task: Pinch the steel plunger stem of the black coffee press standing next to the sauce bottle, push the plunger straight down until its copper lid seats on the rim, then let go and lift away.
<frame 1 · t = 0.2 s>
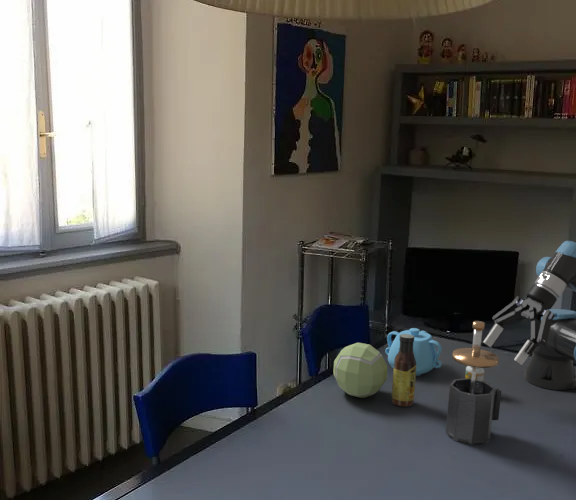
hand: (501, 353, 176), 16 cm above the table, tool tilted 35°, fingers open, 13 cm apart
decorative sphere: (358, 395, 185), on the table
decorative pot: (411, 369, 206), on the table
supplement bottle: (473, 391, 190), on the table
sauce bottle: (402, 403, 180), on the table
press body: (467, 434, 163), on the table
plunger: (474, 363, 159), point 19 cm above the table, slide at 7.0 cm
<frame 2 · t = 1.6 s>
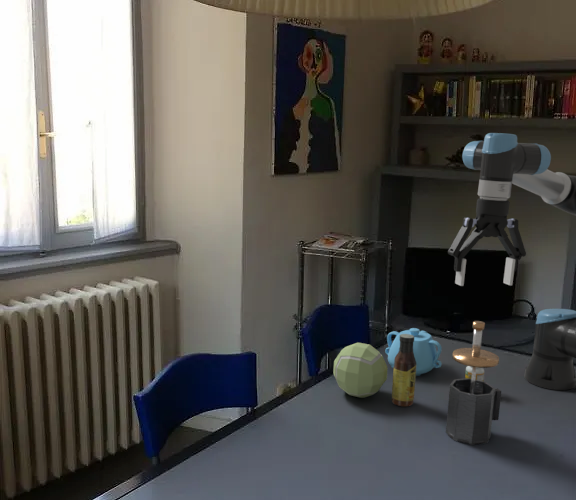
hand: (483, 284, 156), 39 cm above the table, tool pointing down, fingers open, 13 cm apart
nothing on the table moved.
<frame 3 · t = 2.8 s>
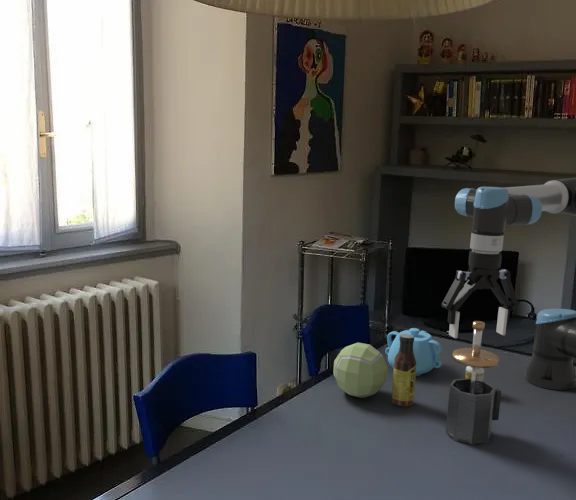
hand: (477, 335, 158), 27 cm above the table, tool pointing down, fingers open, 13 cm apart
nothing on the table moved.
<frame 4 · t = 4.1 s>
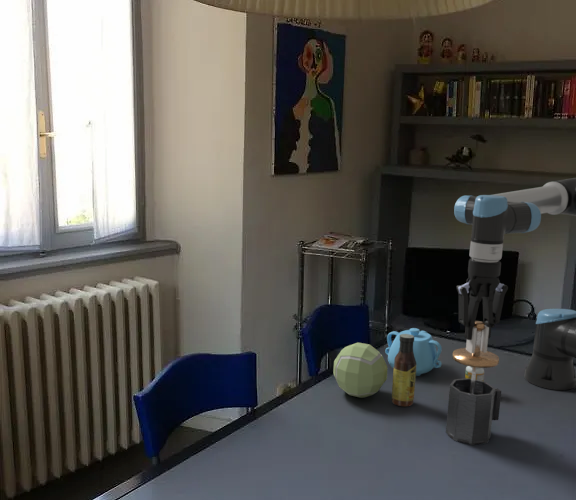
hand: (476, 351, 159), 23 cm above the table, tool pointing down, fingers closed on plunger, 3 cm apart
plunger: (474, 363, 159), point 19 cm above the table, slide at 7.0 cm, touching gripper
everything else where it was.
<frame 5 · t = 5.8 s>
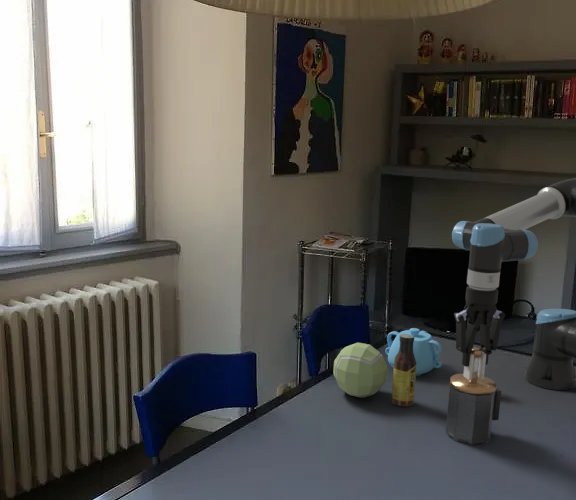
hand: (473, 377, 160), 16 cm above the table, tool pointing down, fingers closed on plunger, 3 cm apart
plunger: (472, 389, 160), point 12 cm above the table, slide at 0.0 cm, touching gripper
everything else where it was.
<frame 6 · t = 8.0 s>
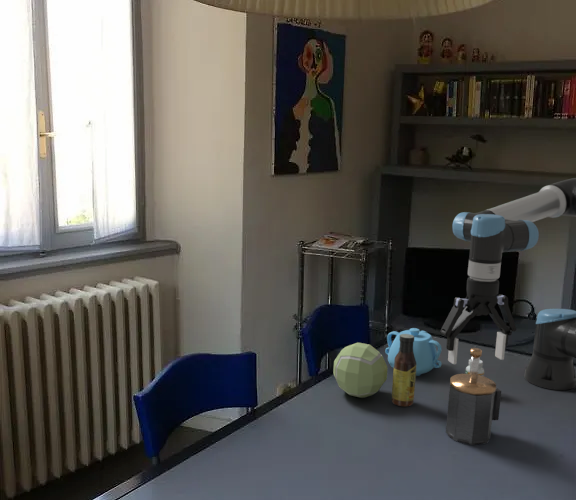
hand: (475, 360, 159), 20 cm above the table, tool pointing down, fingers open, 13 cm apart
plunger: (472, 389, 160), point 12 cm above the table, slide at -0.1 cm
everything else where it was.
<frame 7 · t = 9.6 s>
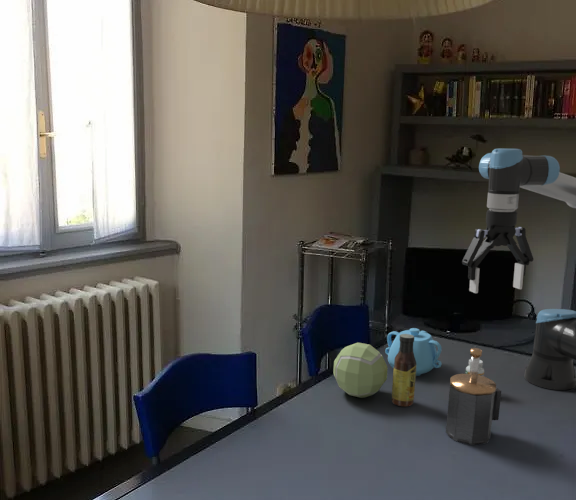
hand: (495, 290, 166), 36 cm above the table, tool pointing down, fingers open, 13 cm apart
nothing on the table moved.
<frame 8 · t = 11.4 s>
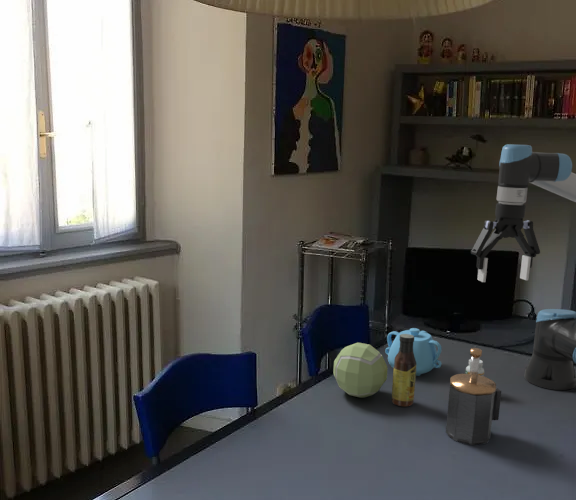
hand: (502, 280, 174), 37 cm above the table, tool pointing down, fingers open, 13 cm apart
nothing on the table moved.
at the end: plunger slide at -0.1 cm; the gripper is holding nothing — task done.
